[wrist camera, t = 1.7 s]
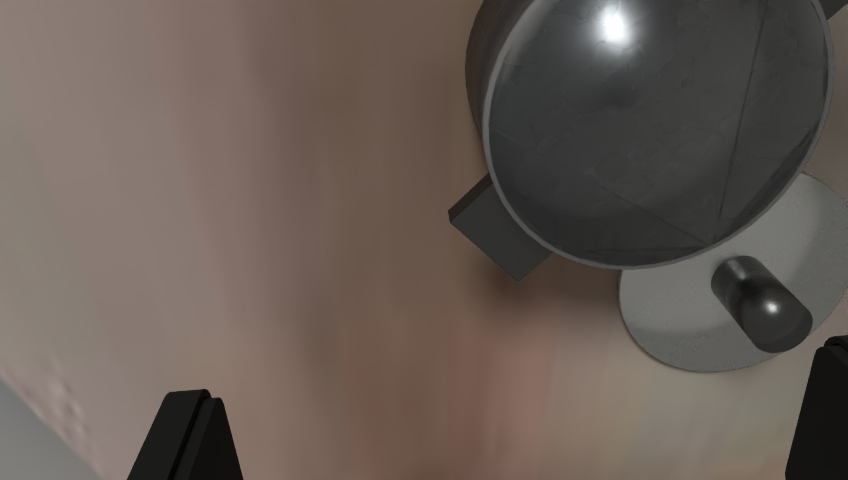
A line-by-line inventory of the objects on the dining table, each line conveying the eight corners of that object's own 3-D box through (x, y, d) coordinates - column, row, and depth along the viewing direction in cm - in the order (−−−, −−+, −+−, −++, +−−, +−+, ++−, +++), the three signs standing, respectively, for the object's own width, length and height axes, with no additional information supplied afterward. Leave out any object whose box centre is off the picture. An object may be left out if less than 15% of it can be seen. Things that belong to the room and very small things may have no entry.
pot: (657, -197, 28) (762, -231, 20) (814, 28, 33) (950, 72, 25) (376, 101, 33) (371, 166, 25) (546, 255, 38) (587, 351, 30)
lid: (768, 111, 35) (834, 151, 30) (889, 264, 40) (964, 321, 35) (568, 276, 39) (595, 335, 34) (699, 395, 44) (741, 463, 39)
